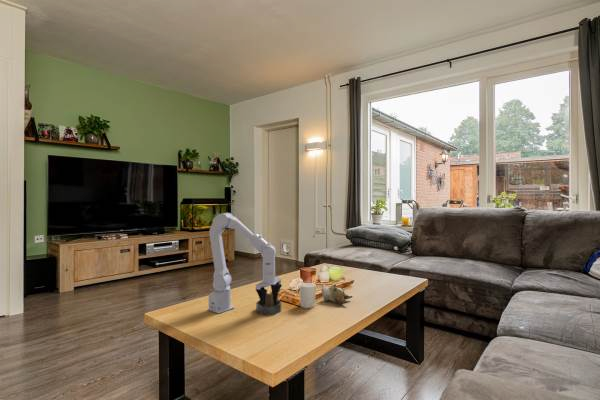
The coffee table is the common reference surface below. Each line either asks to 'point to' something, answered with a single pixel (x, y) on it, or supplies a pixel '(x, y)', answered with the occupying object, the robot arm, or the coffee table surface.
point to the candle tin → (268, 308)
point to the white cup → (307, 295)
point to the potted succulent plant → (335, 294)
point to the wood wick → (269, 300)
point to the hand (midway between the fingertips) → (268, 301)
